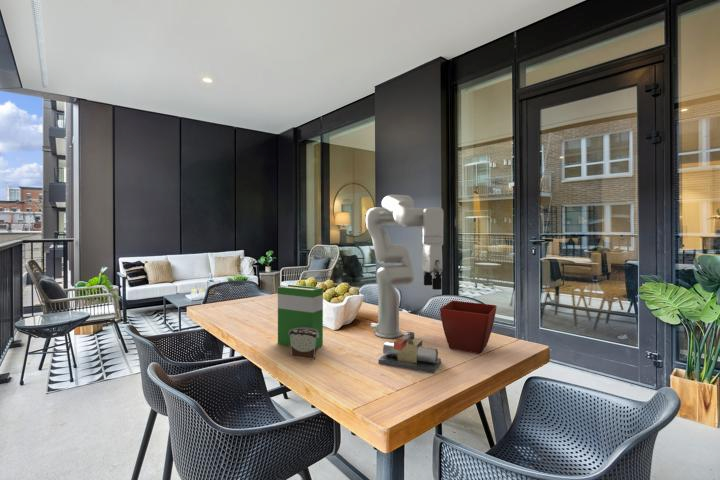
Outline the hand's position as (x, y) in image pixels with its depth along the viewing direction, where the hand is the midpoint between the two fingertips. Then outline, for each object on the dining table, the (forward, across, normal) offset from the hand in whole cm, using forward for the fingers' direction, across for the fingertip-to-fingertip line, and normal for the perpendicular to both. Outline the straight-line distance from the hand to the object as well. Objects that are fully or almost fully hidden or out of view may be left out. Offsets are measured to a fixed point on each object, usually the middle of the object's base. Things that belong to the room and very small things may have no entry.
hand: (432, 287), depth 133 cm
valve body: (+27, +3, -9) cm, 29 cm away
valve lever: (+18, +8, -12) cm, 23 cm away
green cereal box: (+27, -24, -49) cm, 61 cm away
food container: (+27, -10, -46) cm, 55 cm away
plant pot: (+27, -12, +20) cm, 36 cm away
